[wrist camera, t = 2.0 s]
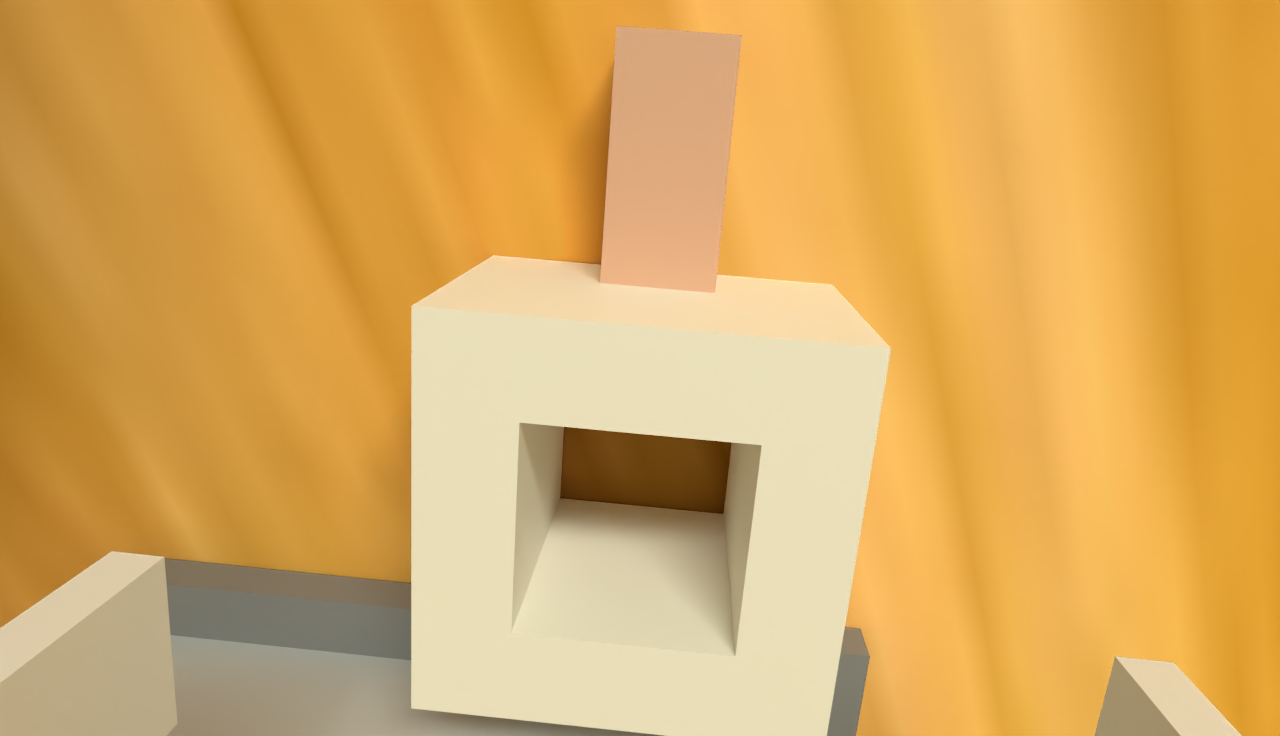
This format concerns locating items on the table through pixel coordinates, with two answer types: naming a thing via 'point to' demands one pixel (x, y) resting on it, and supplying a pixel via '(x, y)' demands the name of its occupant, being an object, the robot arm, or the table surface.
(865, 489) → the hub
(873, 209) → the table surface
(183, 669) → the grey walled tray
